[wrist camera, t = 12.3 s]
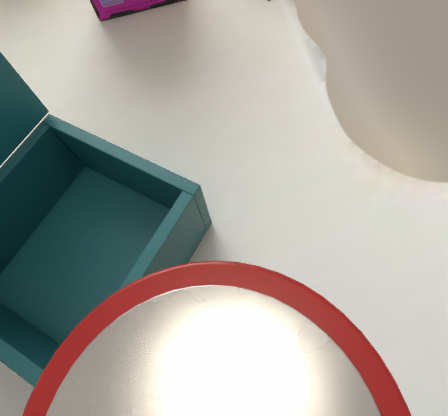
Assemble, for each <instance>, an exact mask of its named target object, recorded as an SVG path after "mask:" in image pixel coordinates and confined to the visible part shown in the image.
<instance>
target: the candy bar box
mask: <svg viewBox="0 0 448 416" xmlns="http://www.w3.org/2000/svg"><path fill="white" fill-rule="evenodd" d="M175 1H178V0H90V2H91V4H92V6H93V8H94V10H95V13H96V15H97V17H98V18H99V20H105V19H109V18H113V17H117V16H121V15H125V14H129V13H133V12H136V11H140V10H144V9H148V8H152V7H156V6H160V5H163V4H167V3H171V2H175Z"/></svg>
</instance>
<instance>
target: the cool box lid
mask: <svg viewBox="0 0 448 416" xmlns="http://www.w3.org/2000/svg"><path fill="white" fill-rule="evenodd" d="M47 113H48V110H47V108H46V107H45V106H44V105H43V104H42V102H41V101H40V100H39V99H38V97H37V96H36V95H35V94H34V93H33V91H32V90H31V89H30V88H29V86H28V85H27V84H26V83H25V82H24V80H23V79H22V78H21V77H20V75H19V74H18V73H17V72H16V71H15V69H14V68H13V67H12V66H11V64H10V63H9V62H8V61H7V60H6V58H5V57H4V56H3V55H2V53H1V52H0V165H1V164H2V163H3V162H4V161H5V160H6V159H7V157H8V156H9V155H10V154H11V153H12V152H13V151H14V150H15V149H16V147H17V146H18V145H19V144H20V143H21V142H22V141H23V140H24V138H25V137H26V136H27V135H28V134H29V133H30V132H31V131H32V129H33V128H34V127H35V126H36V125H37V124H38V123H39V122H40V121H41V119H42V118H43V117H44V116H45V115H46V114H47Z"/></svg>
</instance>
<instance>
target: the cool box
mask: <svg viewBox="0 0 448 416" xmlns="http://www.w3.org/2000/svg"><path fill="white" fill-rule="evenodd" d="M210 224H211V218H210V216H209V212H208V209H207V206H206V203H205V199H204V196H203V193H202V190H201V186H200V185H198V184H196V183H194V182H192V181H190V180H188V179H186V178H183V177H181V176H179V175H177V174H175V173H173V172H171V171H169V170H167V169H164V168H162V167H160V166H158V165H156V164H154V163H152V162H150V161H148V160H145V159H143V158H141V157H139V156H137V155H135V154H133V153H131V152H128V151H126V150H124V149H122V148H120V147H118V146H116V145H114V144H112V143H109V142H107V141H105V140H103V139H101V138H99V137H97V136H95V135H93V134H90V133H88V132H86V131H84V130H82V129H80V128H78V127H76V126H73V125H71V124H69V123H67V122H65V121H63V120H61V119H59V118H57V117H54V116H52V115H50V114H48V115H47V116H46V118H45V119H44V120H43V121H42V122H41V123H40V124H39V125H38V126H37V127H36V129H35V130H34V131H33V132H32V133H31V134H30V135H29V136H28V138H27V139H26V140H25V141H24V142H23V143H22V144H21V145H20V147H19V148H18V149H17V150H16V151H15V152H14V153H13V154H12V156H11V157H10V158H9V159H8V160H7V161H6V162H5V163H4V165H3V166H2V167H1V168H0V361H1V362H3V363H4V364H5V365H7V366H8V367H9V368H11V369H12V370H13V371H14V372H16V373H17V374H18V375H20V376H21V377H22V378H24V379H25V380H26V381H28V382H29V383H30V384H31V385H33V386H34V387H35V386H36V384H37V382H38V380H39V378H40V376H41V374H42V372H43V371H44V369H45V368H46V366H47V364H48V363H49V361H50V360H51V358H52V357H53V355H54V354H55V352H56V350H57V349H58V348H59V347H60V345H61V344H62V343H63V342H64V340H65V339H66V338H67V337H68V335H69V334H70V333H71V332H72V330H73V329H74V328H75V327H76V326H77V325H78V324H79V323H80V322H81V321H82V320H83V319H84V318H85V317H86V316H87V315H88V314H89V313H90V312H91V311H92V310H93V309H95V308H96V307H97V306H98V305H100V304H101V303H102V302H103V301H105V300H106V299H107V298H108V297H109V296H111V295H112V294H114V293H115V292H117V291H119V290H120V289H122V288H123V287H125V286H127V285H128V284H130V283H132V282H134V281H136V280H138V279H140V278H142V277H144V276H146V275H148V274H151V273H153V272H156V271H159V270H162V269H166V268H169V267H172V266H176V265H181V264H186V263H187V262H188V261H189V259H190V257H191V256H192V254H193V252H194V251H195V249H196V247H197V246H198V244H199V242H200V241H201V239H202V237H203V236H204V234H205V232H206V230H207V229H208V227H209V225H210Z"/></svg>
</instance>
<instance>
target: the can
mask: <svg viewBox="0 0 448 416" xmlns="http://www.w3.org/2000/svg"><path fill="white" fill-rule="evenodd" d="M22 416H411V414H410V411H409V409H408V406H407V404H406V402H405V400H404V398H403V396H402V394H401V392H400V390H399V388H398V386H397V383H396V381H395V380H394V378H393V376H392V375H391V373H390V371H389V370H388V368H387V367H386V365H385V363H384V362H383V360H382V358H381V357H380V355H379V354H378V353H377V351H376V350H375V349H374V347H373V346H372V345H371V344H370V342H369V341H368V340H367V338H366V337H365V336H364V335H363V333H362V332H361V331H360V330H359V329H358V328H357V327H356V326H355V325H354V324H353V323H352V322H351V321H350V320H349V319H348V318H347V317H346V316H345V315H344V314H343V313H342V312H341V311H340V310H339V309H337V308H336V307H335V306H334V305H333V304H331V303H330V302H329V301H328V300H326V299H325V298H324V297H323V296H321V295H320V294H318V293H316V292H315V291H313V290H312V289H310V288H308V287H307V286H305V285H304V284H302V283H300V282H298V281H296V280H294V279H292V278H289V277H287V276H285V275H283V274H281V273H278V272H275V271H272V270H269V269H266V268H263V267H260V266H255V265H250V264H245V263H240V262H229V261H203V262H191V263H186V264H181V265H176V266H172V267H169V268H166V269H162V270H159V271H156V272H153V273H151V274H148V275H146V276H144V277H142V278H140V279H138V280H136V281H134V282H132V283H130V284H128V285H127V286H125V287H123V288H122V289H120V290H119V291H117V292H115V293H114V294H112V295H111V296H109V297H108V298H107V299H106V300H105V301H103V302H102V303H101V304H100V305H98V306H97V307H96V308H95V309H93V310H92V311H91V312H90V313H89V314H88V315H87V316H86V317H85V318H84V319H83V320H82V321H81V322H80V323H79V324H78V325H77V326H76V327H75V328H74V329H73V330H72V332H71V333H70V334H69V335H68V337H67V338H66V339H65V340H64V342H63V343H62V344H61V345H60V347H59V348H58V349H57V350H56V352H55V354H54V355H53V357H52V358H51V360H50V361H49V363H48V364H47V366H46V368H45V369H44V371H43V372H42V374H41V376H40V378H39V380H38V382H37V384H36V386H35V388H34V390H33V392H32V394H31V396H30V398H29V400H28V402H27V405H26V407H25V410H24V413H23V415H22Z"/></svg>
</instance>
